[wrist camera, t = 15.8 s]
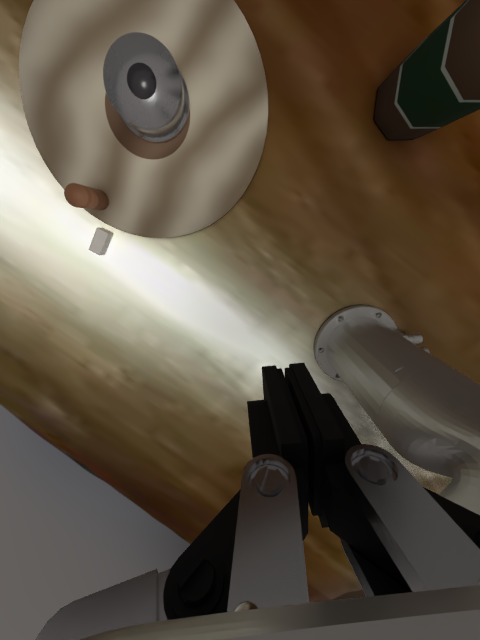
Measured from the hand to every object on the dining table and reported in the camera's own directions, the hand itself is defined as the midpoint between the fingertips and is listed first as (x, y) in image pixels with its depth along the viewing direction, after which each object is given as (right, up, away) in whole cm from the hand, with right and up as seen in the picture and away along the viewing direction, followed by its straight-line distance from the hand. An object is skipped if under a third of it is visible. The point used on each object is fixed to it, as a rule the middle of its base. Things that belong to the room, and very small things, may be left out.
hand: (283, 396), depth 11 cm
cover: (-11, +26, +17) cm, 33 cm away
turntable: (-12, +26, +19) cm, 34 cm away
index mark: (-19, +13, +23) cm, 33 cm away
